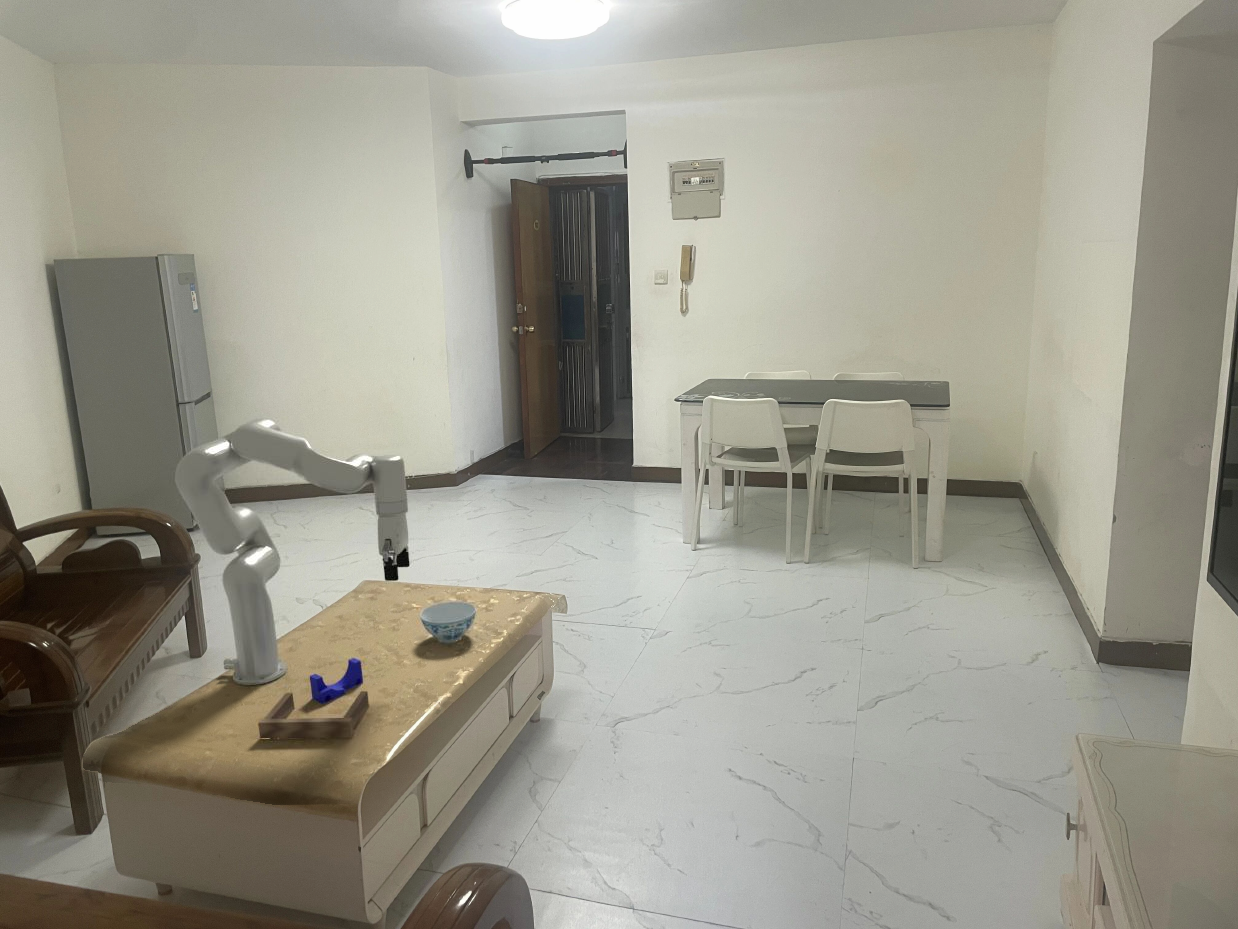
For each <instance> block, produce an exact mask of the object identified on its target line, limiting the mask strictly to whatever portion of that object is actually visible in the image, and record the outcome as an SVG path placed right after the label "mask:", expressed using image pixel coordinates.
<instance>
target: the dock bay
mask: <svg viewBox="0 0 1238 929" xmlns="http://www.w3.org/2000/svg"><path fill="white" fill-rule="evenodd" d="M293 695H294V694H293V692H285V693H284V694H283V696H281V698H280V699H279V701H278V702H277V703H276V704H275V705H274V706H273V708H271V709H270V710H269V712H268V714H266V716H264V718H261V719H260V720H259V721H258V723H257V725H258V731H259V739H260V738H270V739H272V740H291V739H290V738H293V739H292V740H295V739H294V738H326V739H353V737H354V735H355V730H356V729H357V727H358V725H359V723H361V721H362V720H363V718H364V716H365V714H366V713H367V711H368V710H369V708H370V704H369V703H370V702H369V694H368V690H364V691H363V690H362V691H360V692H359V694H357V696H356V697H355V699H354V701H353V702H352V703H351V705H350V706H349V709H348V710H347V712H346V713H345V714H344V716H343V717H320V718H319V717H314V718H311V717H310V718H309V717H307V718H288V717H289V716H290V715H291V713H292V712H293V711H294V710H295V704H294V703H295V701H294V696H293ZM278 738H279V739H278Z"/></svg>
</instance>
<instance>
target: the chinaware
mask: <svg viewBox="0 0 1238 929" xmlns="http://www.w3.org/2000/svg"><path fill="white" fill-rule="evenodd" d="M476 613H477V608H476V607H475V605H474V604H472V603H470V602H466V601H459V600H458V601H457V600H456V601H444V602H439V603H438V602H437V603H436V604H431V605H430V606H427V607H425V608H424V609H422V610H421V611H420V613H419V617H420V621H421V623H422V625H423V627H424V629H425V630H426V632H428V633H429V635H431V636H432V637H434V638H436V639H437V641H438V642H439V643H442V642H443V644H451V642H452V643H455V642H454V641H456V640H459V639H460V638H462V639H463V637H462V636H464V635H465V634H466V633H468V631H469V630H470V629H471V627H472V625H473V623H474V621H475V618H476ZM460 640H461V639H460ZM460 640H459V641H460ZM456 642H457V641H456Z"/></svg>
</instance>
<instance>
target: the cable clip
mask: <svg viewBox="0 0 1238 929" xmlns="http://www.w3.org/2000/svg"><path fill="white" fill-rule="evenodd" d="M347 660H348V661H347V662H348V663H347V667H346V668H347V669H346V671H345V673H344V674H343V676H342V677H341V679H340V680H338V681H337V682H335V683H332V684H326V683H325V681H324V679H323V676H321V675H319V674H317V673H314V674H311V675H309V682H310V683H309V684H310V691H311V698H312V699H313V700H314V701H316V702H318V703H321V704H322V705H324V704H326V703H329V702H331V701H333V700H335V699H338V698H340V697H342V696H344V695H346V691H347V690H350V689H352V688H355V687H357V686H359V685H361V684H363V683H364V678H363V671H362V669H363V668H362V660H360V659H357V658H355V657H352V658H350V659H347Z"/></svg>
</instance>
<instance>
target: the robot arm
mask: <svg viewBox="0 0 1238 929" xmlns="http://www.w3.org/2000/svg"><path fill="white" fill-rule="evenodd" d="M252 461H253V462H258V463H261V464H265V465H268V466H272V467H275V468H278V469H281V470H284V471H288V472H292V473H295V475H296V476H298V477H299V478H301V479H303V480H304V481H306V482H308V483H309V484H312V485H315V486H316V487H318V488H322V489H326V490H330V491H334V492H337V493H340V494H341V493H342V494H354V493H357V492H359V491H360V490H362V489H363V488H364V487H366V486H368V485H370V484H373V492H374V494H373V495H374V505H375V514H376V516H378V518H377V545H378V546H377V547H378V555H379V556H382V565H383V574H384V581H386V582H394V581H395V582H397V581H398V580H399V579H400V578H399V570H398V569H399V568H408V567H410V564H411V563H410V554H409V545H408V544H409V529H408V521H407V520H408V519H407V513H408V512H409V506H408V496H407V494H408V493H407V482H406V471H405V469H406V468H405V462H404V459H403V458H402V457H401V456H400V455H395V454H389V455H388V454H386V455H380V456H379V455H372V454H371V455H370V454H363V453H362V454H354V455H352V456H350V457H349V458H347V459H345V460H344V461H343V460H338V459H335V458H332V457H329V456H326V455H323V454H321V453H318V452H317V451H315V450H314V449H313V448H312V446H311V445H310V443H309V441H308V439H306V438H304V437H302V436H299V435H294V434H291V433H287V432H283V431H282V430H281V428H280V426H279V425H278V424H277V423H275V422H274V421H272V420H271V419H268V418H257V419H253V420H251V421H247V422H246V423H243V424H241V425H239V426H238V427H237V428H235V430H234V431H232V432H230V433H227V434H226V435H224V436H221V437H219V438H217V439H214V440H212V441H210V442H206V443H204V444H202V445H199V446H196V447H194V448H192V449H191V450H190V451H188V452H187V453H185V455H184V456H183V457H182V458H181V459H180V461H179V462H178V464H177V466H176V468H175V472H174V473H175V474H174V480H175V484H176V486H175V487H176V488H177V491H178V492H179V494H180V496H181V498H182V499H183V500H184V503H185V504H186V505H187V507H188V508H189V510H190V512H191V514H192V516H193V518H194V520H195V523H196V524H197V526H198V527H199V529H200V531H201V533H202V535H203V537H204V538H205V540H206V542H207V544H208V546H209V547H210V548H211V550H212V551H213V552H215V553H216V554H219V555H222V556H225V555H231V554H233V553H235V552H236V554H237V556H236V557H234V558H233V559H231V561H230V562H228V563H227V565H226V566H225V568H224V569H223V572H222V579H221V580H222V586H223V589H224V592H225V595H226V597H227V601H228V605H229V606H228V607H229V610H230V611H229V612H230V617H231V618H230V619H231V624H232V631H233V638H234V644H235V652H236V658H224V659H223V669H224V670H226V671H227V670H233V671H234V672H233V674H232V679H233V681H234V683H236V684H238V685H241V684H242V686H257V685H261V684H262V685H263V684H266V683H269V682H272V681H274V680H277V679H279V678H281V677H282V676H283V675H284V674H285V673H286V672H287V670H288V667H287V663H286V662H284V661H283V660H280V657H279V648H278V640H277V634H276V626H275V625H276V624H275V618H274V610H273V604H272V601H271V597H270V595H269V593H268V590H267V587H266V586H267V585H266V584H267V583H268V582H269V581H270V580H271V579H272V578H273V577H275V575H277V573H278V572H279V570H280V567H281V564H282V562H281V557H280V553H279V551H278V549H277V547H276V545H275V543H274V541H273V539H272V538H271V536H270V534H269V532H268V530H267V528H266V526H265V524H264V522H263V521H262V519H261V518H260V517H259V515H258V514H257V513H256V512H255V511H254V510H252V509H250V508H248V507H245V506H235V507H233V506H232V505H231V503H230V501H229V499H228V497H227V495H226V494H225V492H224V491H223V489H221V488H220V487H219V485H217V484H216V483H215V481H216V479H218V478H220V477H221V476H225V475H227V474H228V473H230V472H233V471H234V470H236V469H237V468H240V467H242V466H244V465H246V464H249V463H250V462H252Z"/></svg>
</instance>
